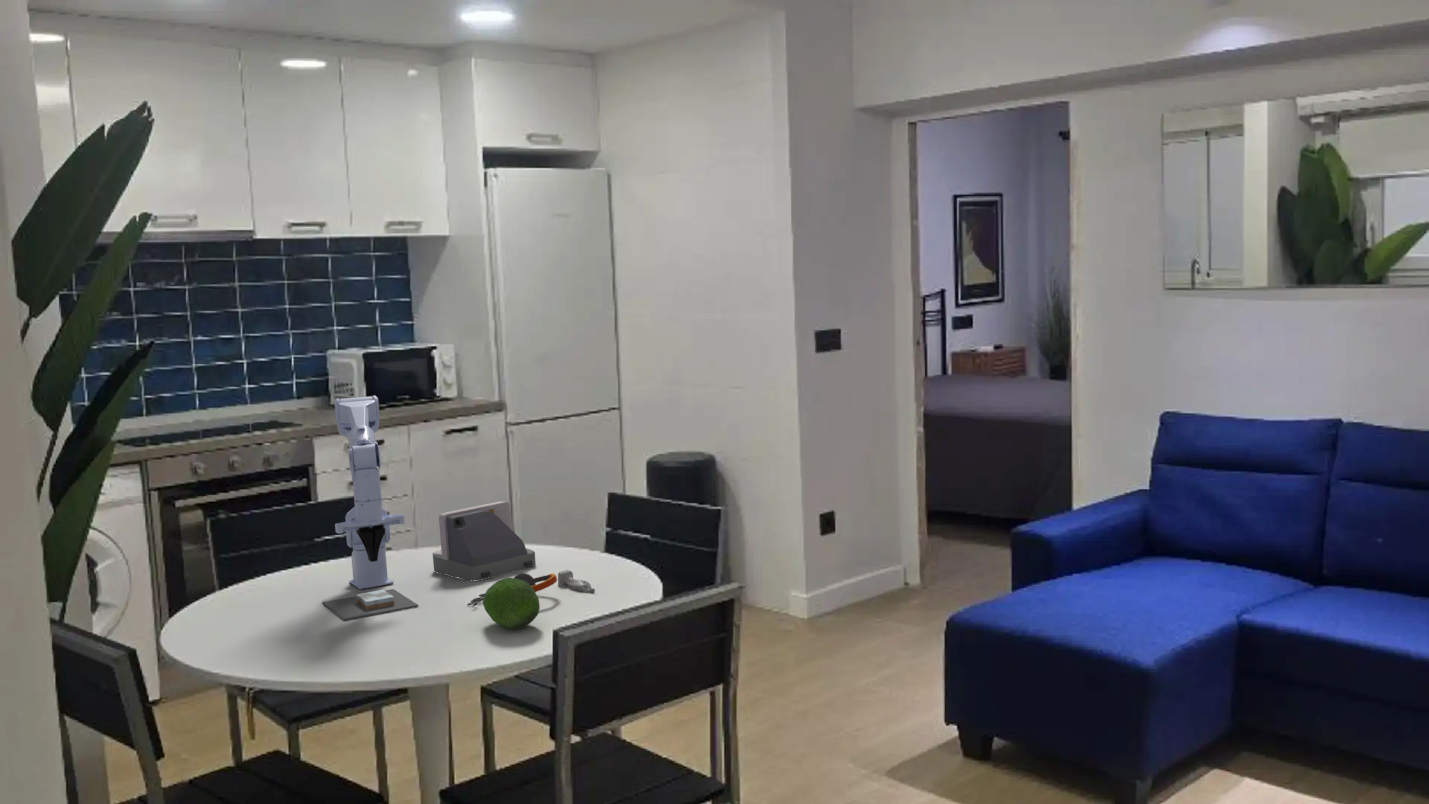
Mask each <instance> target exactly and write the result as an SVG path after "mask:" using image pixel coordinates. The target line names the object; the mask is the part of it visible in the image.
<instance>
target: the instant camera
mask: <svg viewBox="0 0 1429 804" xmlns="http://www.w3.org/2000/svg"><path fill="white" fill-rule="evenodd" d="M510 506H511V505H510V503H509V502H507V501H503V500H501V501H500V500H499V501H495V502H490V503H485V504H480V505H476V506H475V505H474V506H472V507H471V506H470V507H466V508H461V509H456V510H451V511H447V512H442V513H440V514H439V515H438V523H439V534H440V535H439V537H440V546H441V547H440V548H441V550H440V549H439V550H436V551H433V552H432V560H433V561H432V562H433V564H432V565H433V571H435V572H438V573H437V574H439V573H441V574H440V575H443V574H447V575H450V576H449V577H451V576H453V577H452V578H455V577H459V578H462V579H461V580H463V579H464V580H463V581H467V580H472V581H471V582H474V581H473V580H479V581H482V580H481V579H483V580H486V579H485V578H487V579H489V578H488V577H491V578H494V577H498V575H499V576H502V575H505V574H510V573H513V571H514V572H517V571H518V572H519V571H521V569H522V570H525V569H524V568H526V569H529V568H534V567H535V566H534V565H536V566H537V564H536V552H535V551H534V550H533V549H531V548H530V549H529V548H526V545H525V543H524V541H523V540H522V538H520V536H518V535H517V533H515V532H514V531H513V529H512V519H511V509H510V508H511V507H510ZM435 572H434V573H435ZM501 574H502V575H501ZM447 575H446V576H447ZM459 578H458V579H459Z"/></svg>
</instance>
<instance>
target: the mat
mask: <svg viewBox="0 0 1429 804" xmlns="http://www.w3.org/2000/svg"><path fill="white" fill-rule="evenodd" d="M384 591H386V592H387V593H389V594H391V595H392V596H394V604H395V605H391V606H385V607H380V608H375V609H370V610H366V609H365V608H364V607H362V606H361V605H360V604H358V603H357V599H356V595H353V596H347V597H342V598H336V599H335V598H334V599H331V600H325V601H322V604H323V605H324V606H325V607H326V608H327V609H329V610H330V611H331V612H332V613H334V614H335V615H336V616H338V617H339V618H340V619H341V620H342V621H344V622H346V621H351V620H355V619H360V618H361V619H362V618H366V617H372V616H378V615H383V614H387V613H388V614H389V613H392V612H397V611H398V610H399V611H403V610H402V609H404V610H408V609H413V607H414V608H418V607H419V604H418V603H416V602H415V601H413V600H411V599H410V598H408V597H407V596H405V595H403V594H402V593H401V592H399V591H397V590H396V589H394V588H390V589H385V590H384ZM417 606H418V607H417Z"/></svg>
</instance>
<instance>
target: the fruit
mask: <svg viewBox="0 0 1429 804" xmlns="http://www.w3.org/2000/svg"><path fill="white" fill-rule="evenodd" d="M484 594H485V595H484V597H483V598H484V599H483V600H482V606H483V608H484V610H485V612H486V613H487V615H488V616H489V618H491V620H492V621H493V623H496V624H497V625H499V626H500V627H502V628H505V629H511V630H512V629H513V630H518V629H519V630H520V629H522V628H524V627H526V626H528V625H529V624H531V623H532V622H533V621H534V620H535V619H536V618H537V616H538V615H539V612H540V608H541V607H540V599H539V596H538V595H537V592H535V591H534V590H533V588H532V587H531V586H530V585H529V584H528V583H527V582H524V581H522V580H519V579H516V578H514V577H506V578H501V579H499V580H497V581H496V582H494V583H493V584H492V585H491V586H490V587H488V588H487V590H486V591H485V593H484Z"/></svg>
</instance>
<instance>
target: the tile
mask: <svg viewBox="0 0 1429 804" xmlns="http://www.w3.org/2000/svg"><path fill="white" fill-rule="evenodd" d="M355 596H356V599H357V603H358V604H360V605H361V606H362V607H364V608H365V609H366V610H370V609H375V608H380V607H385V606H391V605H395V604H394V596H392V595H391V594H389V593H387V592H386V591H385V590H384V589H380V590H373V591H368V592H362V593H357V594H356V595H355Z"/></svg>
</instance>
